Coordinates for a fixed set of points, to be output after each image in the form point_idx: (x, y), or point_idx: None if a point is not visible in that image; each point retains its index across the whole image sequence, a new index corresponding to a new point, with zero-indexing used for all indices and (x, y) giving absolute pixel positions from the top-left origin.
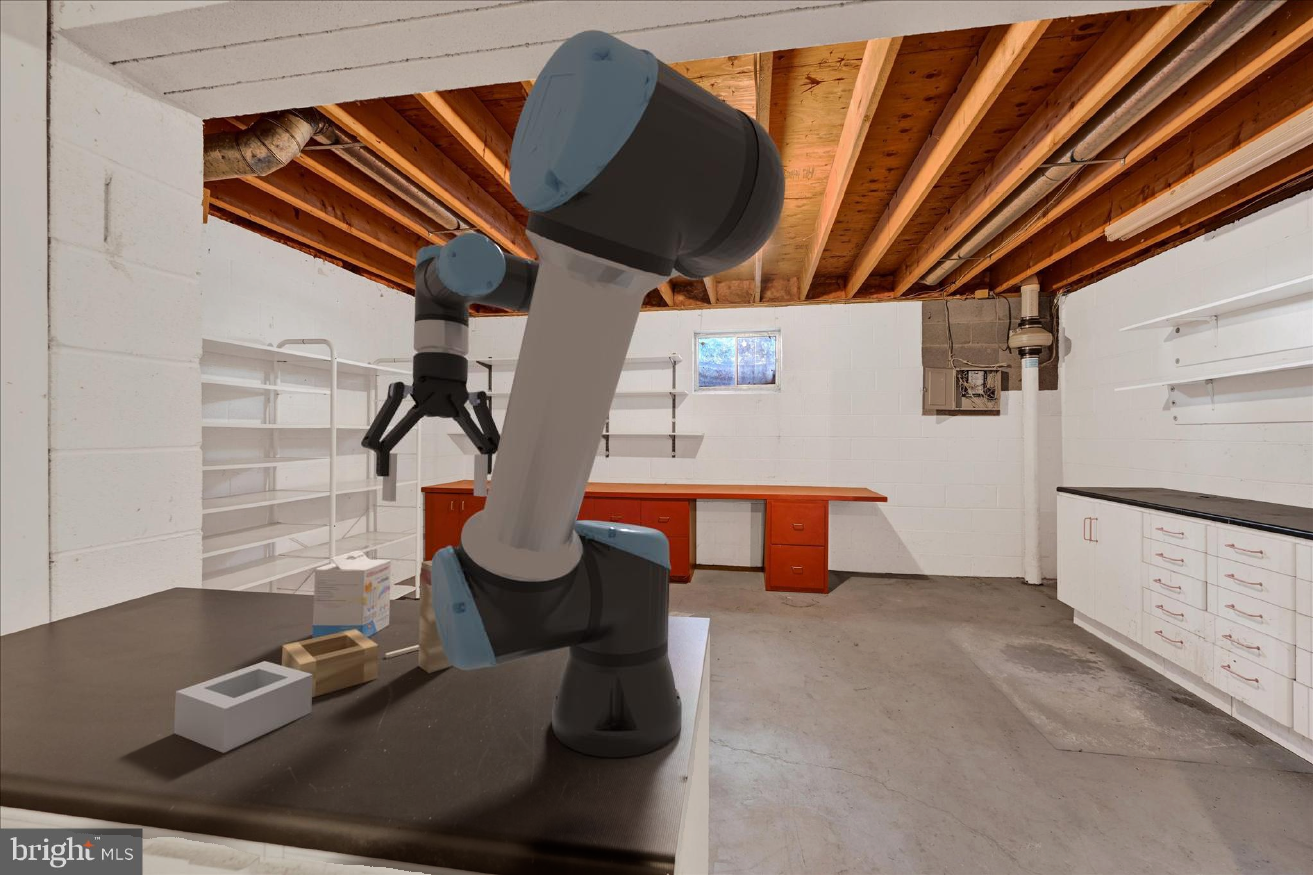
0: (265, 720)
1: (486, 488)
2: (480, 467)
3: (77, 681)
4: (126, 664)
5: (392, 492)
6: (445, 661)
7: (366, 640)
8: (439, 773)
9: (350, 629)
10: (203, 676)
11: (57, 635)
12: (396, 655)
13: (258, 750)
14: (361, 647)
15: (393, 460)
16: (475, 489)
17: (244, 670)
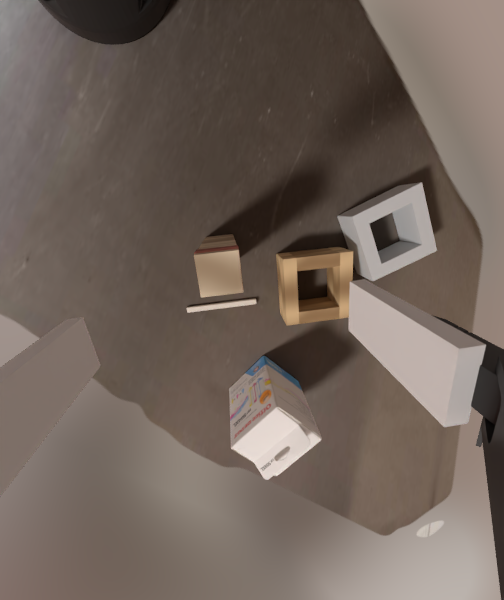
0: (377, 198)
1: (52, 331)
2: (20, 396)
3: None
4: (411, 401)
5: (371, 288)
6: (215, 236)
7: (288, 282)
8: (290, 8)
9: (274, 367)
10: None
11: (432, 484)
12: (246, 299)
13: (380, 172)
14: (297, 263)
15: (446, 331)
16: (87, 367)
17: (390, 267)
